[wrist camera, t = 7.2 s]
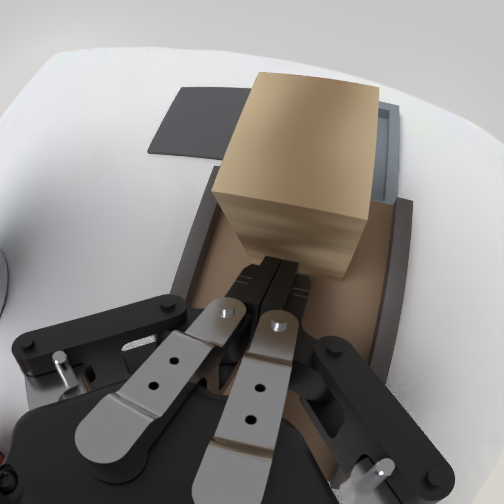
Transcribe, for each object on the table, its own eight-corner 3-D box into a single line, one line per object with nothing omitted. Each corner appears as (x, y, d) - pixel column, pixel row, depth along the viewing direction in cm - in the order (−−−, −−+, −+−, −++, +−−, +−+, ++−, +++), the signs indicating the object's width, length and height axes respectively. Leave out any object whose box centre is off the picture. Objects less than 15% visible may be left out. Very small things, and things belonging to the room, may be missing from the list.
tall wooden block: (252, 261, 18) (211, 190, 10) (278, 170, 19) (258, 72, 12) (341, 281, 16) (367, 220, 9) (358, 185, 18) (379, 87, 11)
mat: (148, 153, 26) (146, 151, 25) (182, 89, 28) (181, 87, 27) (234, 161, 24) (233, 159, 23) (260, 91, 26) (260, 89, 25)
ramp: (163, 415, 18) (133, 425, 15) (229, 196, 23) (214, 165, 19) (342, 466, 16) (349, 490, 12) (396, 228, 20) (413, 200, 16)
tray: (236, 194, 23) (231, 184, 21) (269, 97, 25) (267, 85, 24) (390, 224, 20) (395, 214, 19) (395, 117, 23) (399, 105, 21)
